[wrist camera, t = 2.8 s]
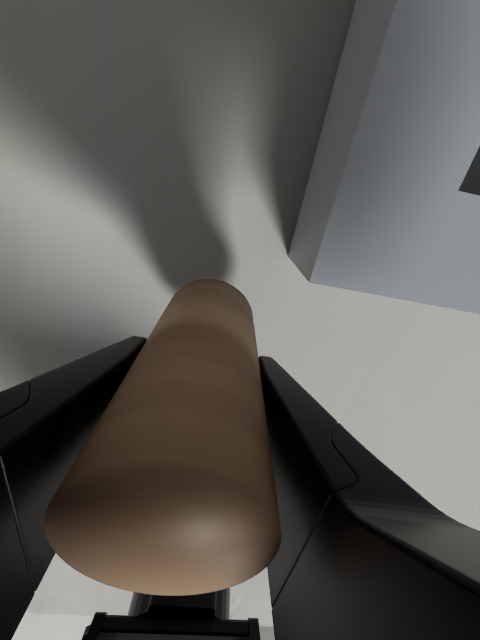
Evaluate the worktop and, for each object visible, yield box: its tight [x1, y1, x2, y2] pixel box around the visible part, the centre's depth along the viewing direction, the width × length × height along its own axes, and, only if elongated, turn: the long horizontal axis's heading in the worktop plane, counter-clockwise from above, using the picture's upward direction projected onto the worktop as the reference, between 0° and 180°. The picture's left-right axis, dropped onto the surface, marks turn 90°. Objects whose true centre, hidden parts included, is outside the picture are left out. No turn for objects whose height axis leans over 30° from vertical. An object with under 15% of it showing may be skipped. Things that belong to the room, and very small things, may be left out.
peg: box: [44, 279, 282, 596], centre depth 8 cm, size 4×4×8 cm
